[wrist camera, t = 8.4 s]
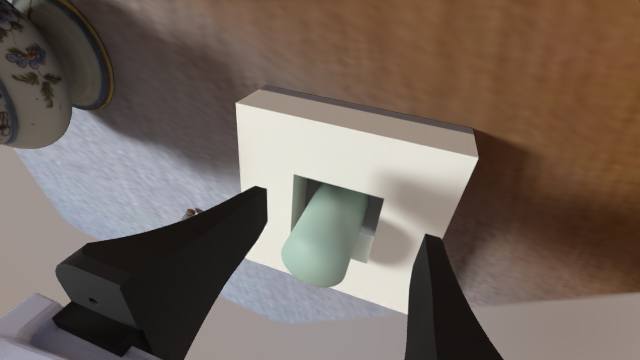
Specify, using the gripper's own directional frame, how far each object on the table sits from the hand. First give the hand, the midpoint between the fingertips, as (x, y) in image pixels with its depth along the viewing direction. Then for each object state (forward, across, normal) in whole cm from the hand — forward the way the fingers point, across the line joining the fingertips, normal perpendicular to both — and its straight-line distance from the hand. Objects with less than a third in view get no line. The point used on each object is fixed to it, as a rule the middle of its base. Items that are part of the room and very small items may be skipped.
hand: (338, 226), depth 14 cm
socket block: (+10, +2, +5) cm, 11 cm away
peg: (+8, +2, +5) cm, 10 cm away
